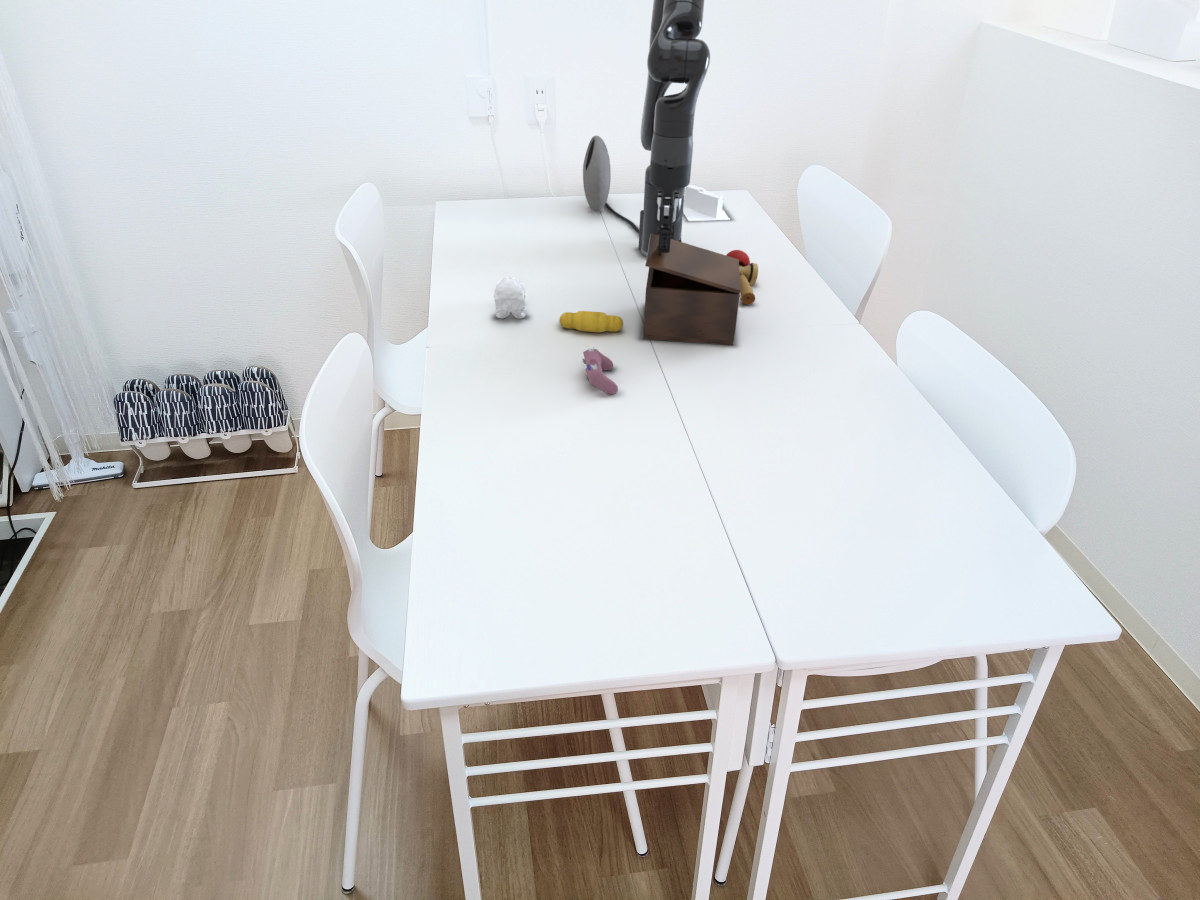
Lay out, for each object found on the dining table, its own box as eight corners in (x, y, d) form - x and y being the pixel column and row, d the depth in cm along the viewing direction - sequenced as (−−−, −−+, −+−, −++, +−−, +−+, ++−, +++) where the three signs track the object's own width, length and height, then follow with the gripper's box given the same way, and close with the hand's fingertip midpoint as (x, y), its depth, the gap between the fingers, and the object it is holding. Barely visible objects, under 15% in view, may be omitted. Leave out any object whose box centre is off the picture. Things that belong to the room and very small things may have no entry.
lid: (645, 266, 163) (653, 239, 160) (649, 236, 175) (657, 211, 172) (739, 294, 164) (749, 268, 161) (737, 262, 176) (747, 238, 173)
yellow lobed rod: (557, 333, 173) (557, 314, 171) (560, 323, 176) (560, 305, 174) (621, 337, 172) (622, 319, 170) (623, 327, 175) (624, 309, 173)
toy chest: (642, 339, 172) (645, 288, 165) (647, 306, 184) (650, 257, 177) (733, 345, 170) (739, 294, 164) (732, 311, 182) (737, 263, 176)
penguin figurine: (492, 283, 171) (496, 263, 181) (494, 323, 175) (497, 302, 185) (524, 283, 171) (526, 264, 181) (525, 323, 175) (527, 302, 186)
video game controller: (593, 375, 163) (576, 346, 159) (615, 365, 162) (599, 336, 158) (597, 403, 155) (580, 373, 151) (620, 393, 154) (603, 363, 150)
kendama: (767, 309, 186) (752, 264, 199) (767, 285, 182) (751, 240, 195) (732, 315, 187) (718, 270, 200) (730, 291, 182) (717, 246, 195)
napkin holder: (731, 219, 226) (733, 198, 222) (688, 221, 224) (690, 199, 221) (715, 199, 238) (717, 178, 234) (675, 201, 236) (676, 180, 233)
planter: (581, 197, 237) (581, 126, 226) (607, 197, 237) (609, 127, 226) (584, 222, 222) (584, 148, 211) (611, 222, 222) (614, 148, 211)
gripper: (653, 144, 164) (647, 230, 174) (648, 169, 152) (642, 259, 162) (692, 147, 163) (685, 233, 173) (690, 171, 152) (682, 262, 162)
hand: (664, 245), depth 168 cm, fingers closed on lid, 5 cm apart
